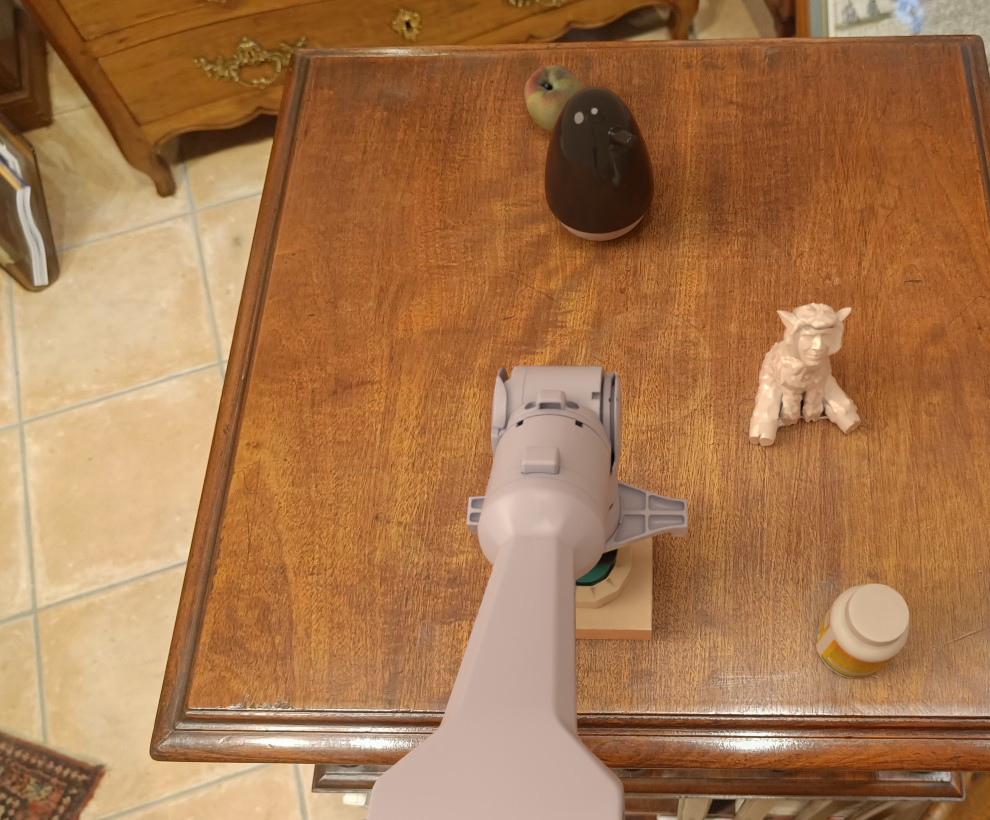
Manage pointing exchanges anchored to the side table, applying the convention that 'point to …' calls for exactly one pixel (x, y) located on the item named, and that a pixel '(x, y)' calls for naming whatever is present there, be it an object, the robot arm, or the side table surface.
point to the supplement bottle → (863, 630)
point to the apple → (549, 93)
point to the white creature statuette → (802, 375)
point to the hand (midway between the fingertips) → (585, 555)
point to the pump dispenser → (598, 167)
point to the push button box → (619, 598)
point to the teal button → (594, 575)
